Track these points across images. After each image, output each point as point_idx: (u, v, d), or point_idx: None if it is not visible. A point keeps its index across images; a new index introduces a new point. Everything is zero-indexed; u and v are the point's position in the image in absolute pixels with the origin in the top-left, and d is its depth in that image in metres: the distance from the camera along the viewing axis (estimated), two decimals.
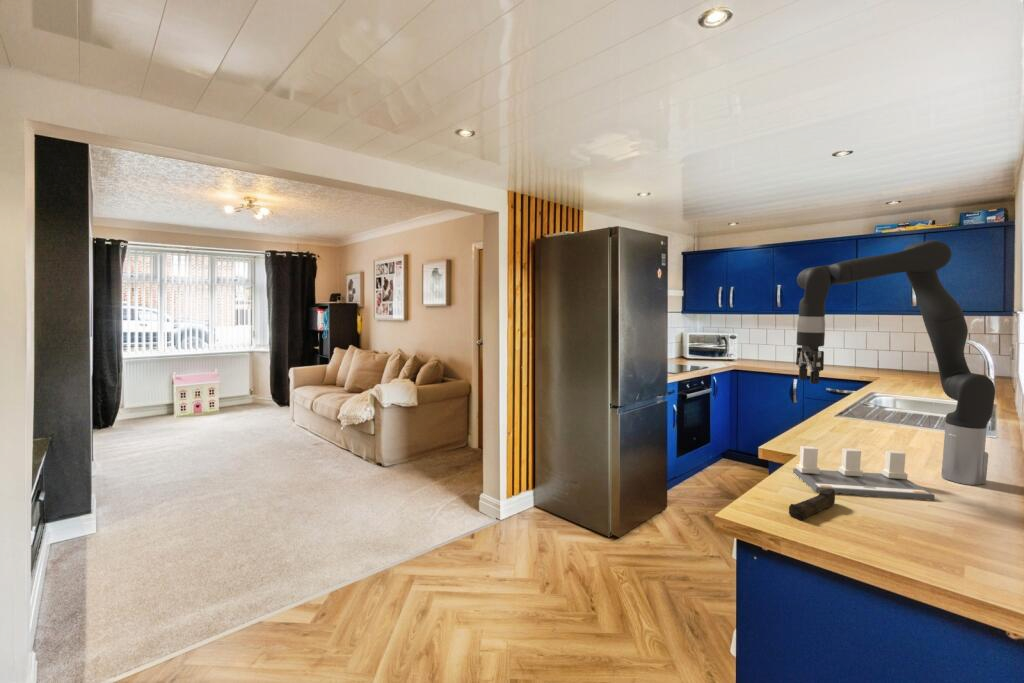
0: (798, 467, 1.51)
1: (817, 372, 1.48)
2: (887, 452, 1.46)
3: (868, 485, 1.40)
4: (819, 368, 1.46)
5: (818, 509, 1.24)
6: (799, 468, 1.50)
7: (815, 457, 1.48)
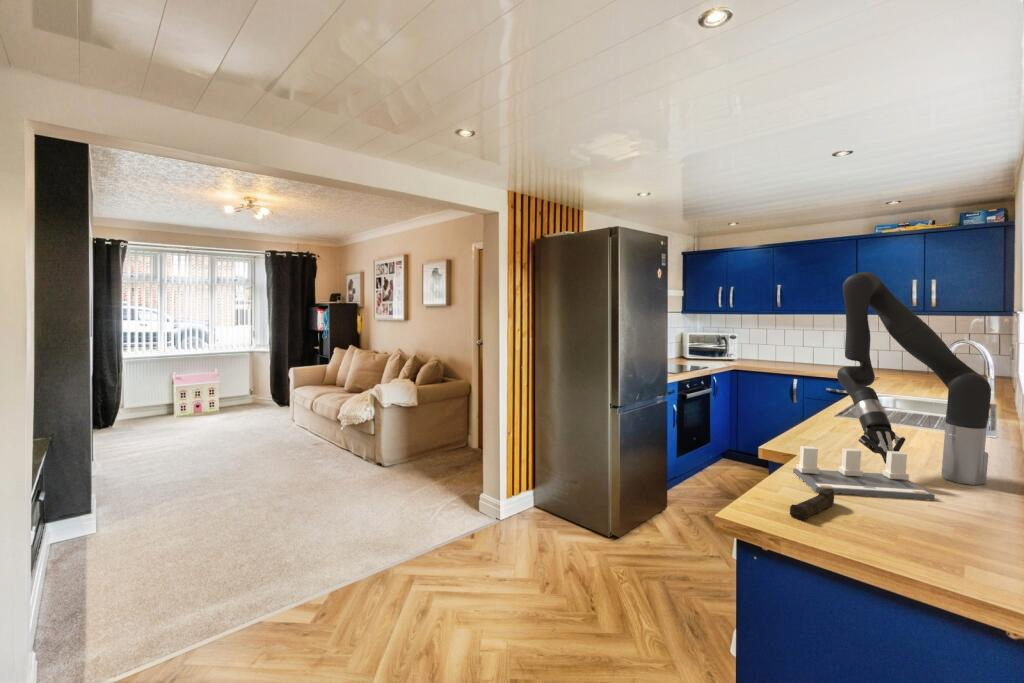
0: (798, 467, 1.51)
1: (882, 453, 1.49)
2: (888, 453, 1.46)
3: (868, 485, 1.40)
4: (874, 449, 1.51)
5: (818, 509, 1.24)
6: (799, 468, 1.50)
7: (815, 457, 1.48)
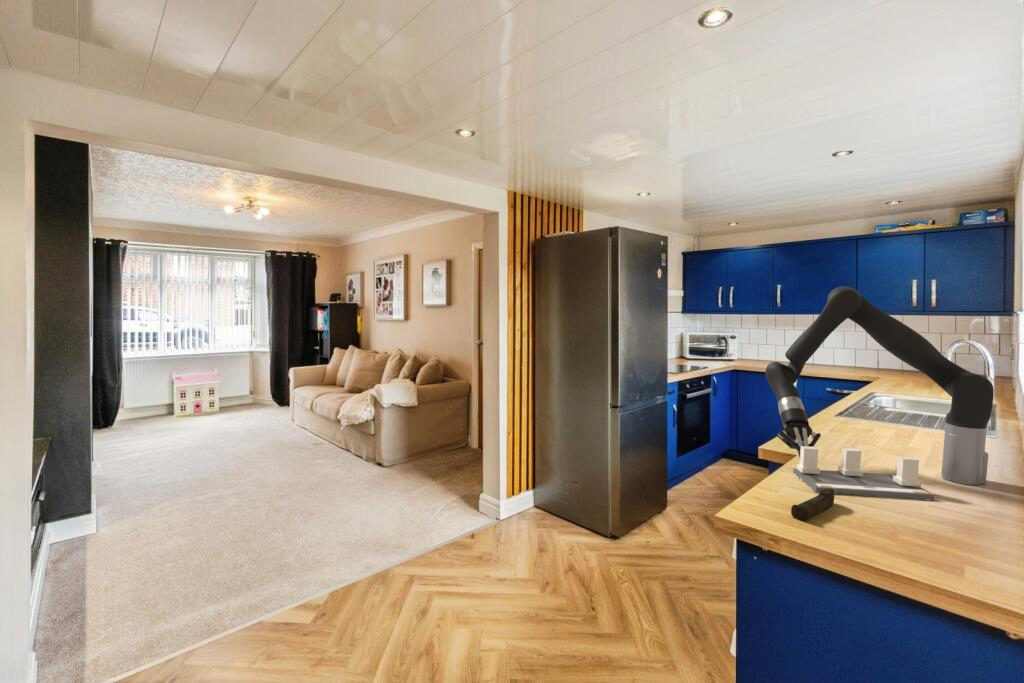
0: (798, 467, 1.51)
1: (798, 449, 1.54)
2: (899, 458, 1.40)
3: (868, 485, 1.40)
4: (791, 444, 1.55)
5: (819, 509, 1.24)
6: (799, 468, 1.50)
7: (815, 457, 1.48)
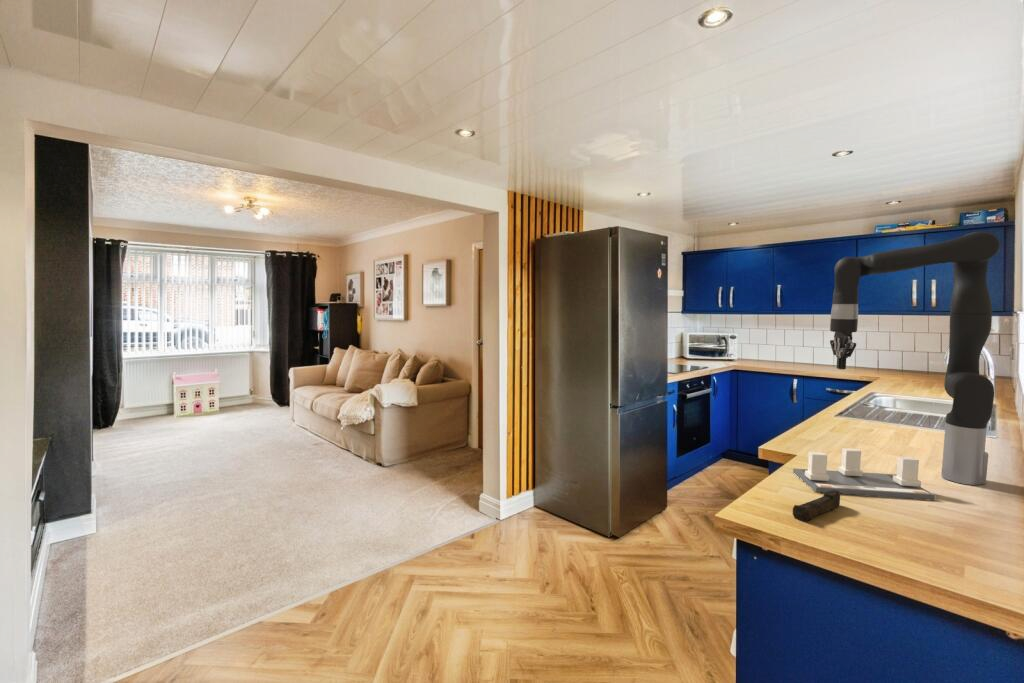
0: (806, 474, 1.45)
1: (844, 358, 1.61)
2: (899, 458, 1.40)
3: (868, 485, 1.40)
4: (847, 355, 1.59)
5: (822, 510, 1.23)
6: (807, 475, 1.44)
7: (824, 463, 1.42)
